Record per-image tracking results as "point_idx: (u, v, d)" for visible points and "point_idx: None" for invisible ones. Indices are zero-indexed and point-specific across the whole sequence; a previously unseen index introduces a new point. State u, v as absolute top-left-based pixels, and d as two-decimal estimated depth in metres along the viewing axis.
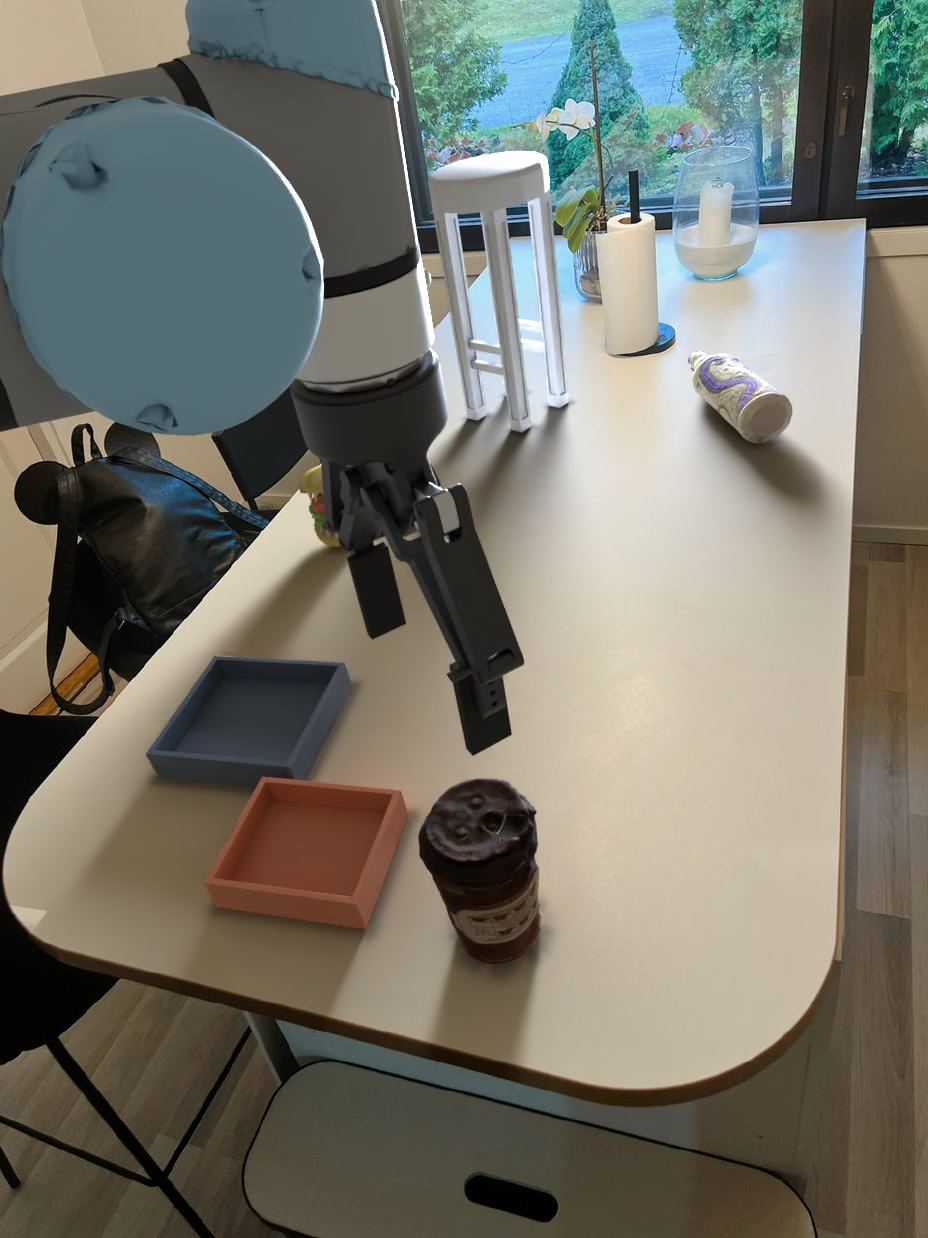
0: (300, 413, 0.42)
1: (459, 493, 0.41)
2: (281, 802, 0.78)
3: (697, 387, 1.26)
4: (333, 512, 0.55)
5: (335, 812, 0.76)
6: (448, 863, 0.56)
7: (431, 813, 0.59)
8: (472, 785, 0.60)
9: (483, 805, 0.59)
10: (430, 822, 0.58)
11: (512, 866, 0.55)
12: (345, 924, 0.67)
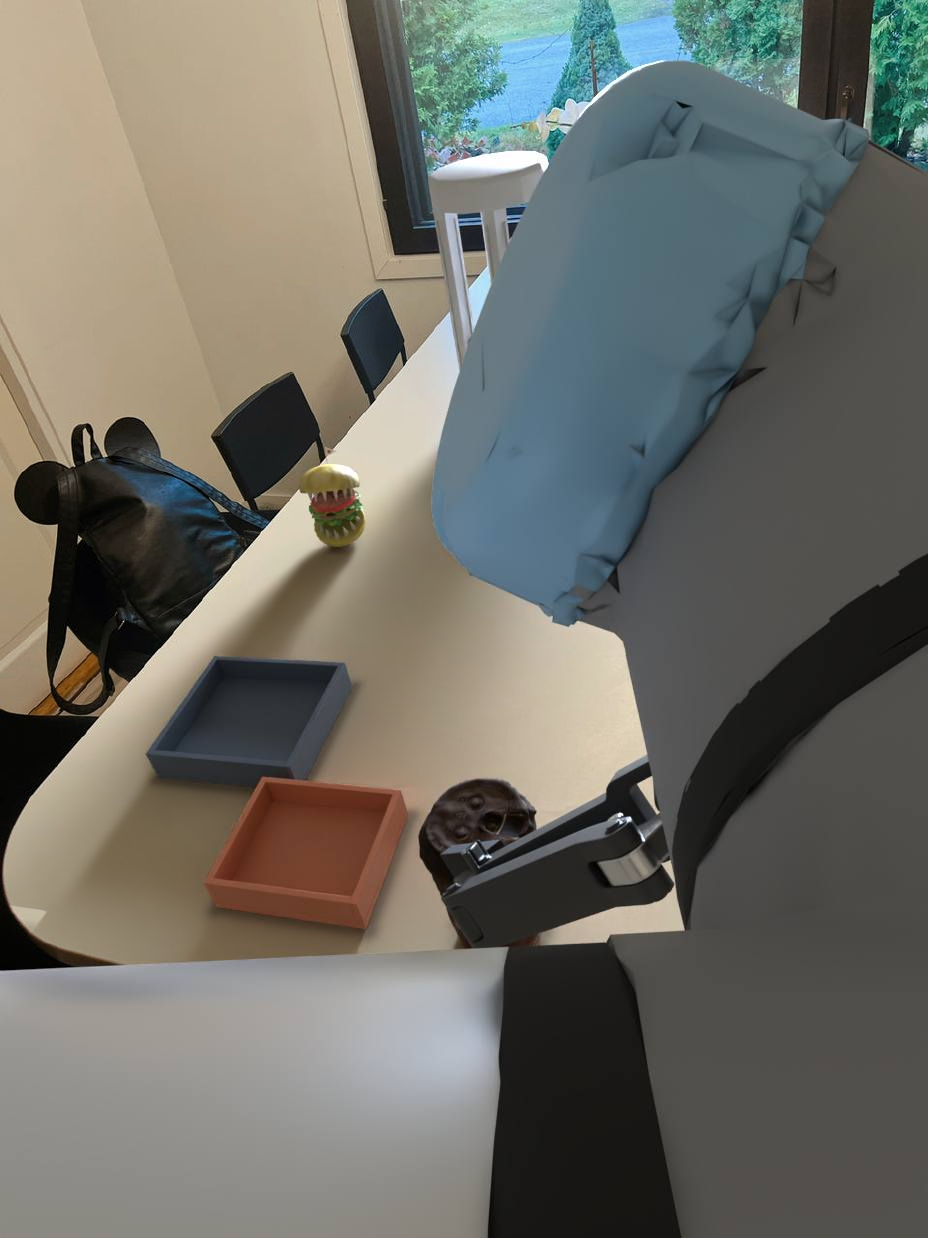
0: None
1: (648, 891, 0.27)
2: (281, 802, 0.78)
3: None
4: None
5: (335, 812, 0.76)
6: None
7: (431, 813, 0.59)
8: (472, 785, 0.60)
9: (483, 805, 0.59)
10: (430, 822, 0.58)
11: None
12: (345, 924, 0.67)
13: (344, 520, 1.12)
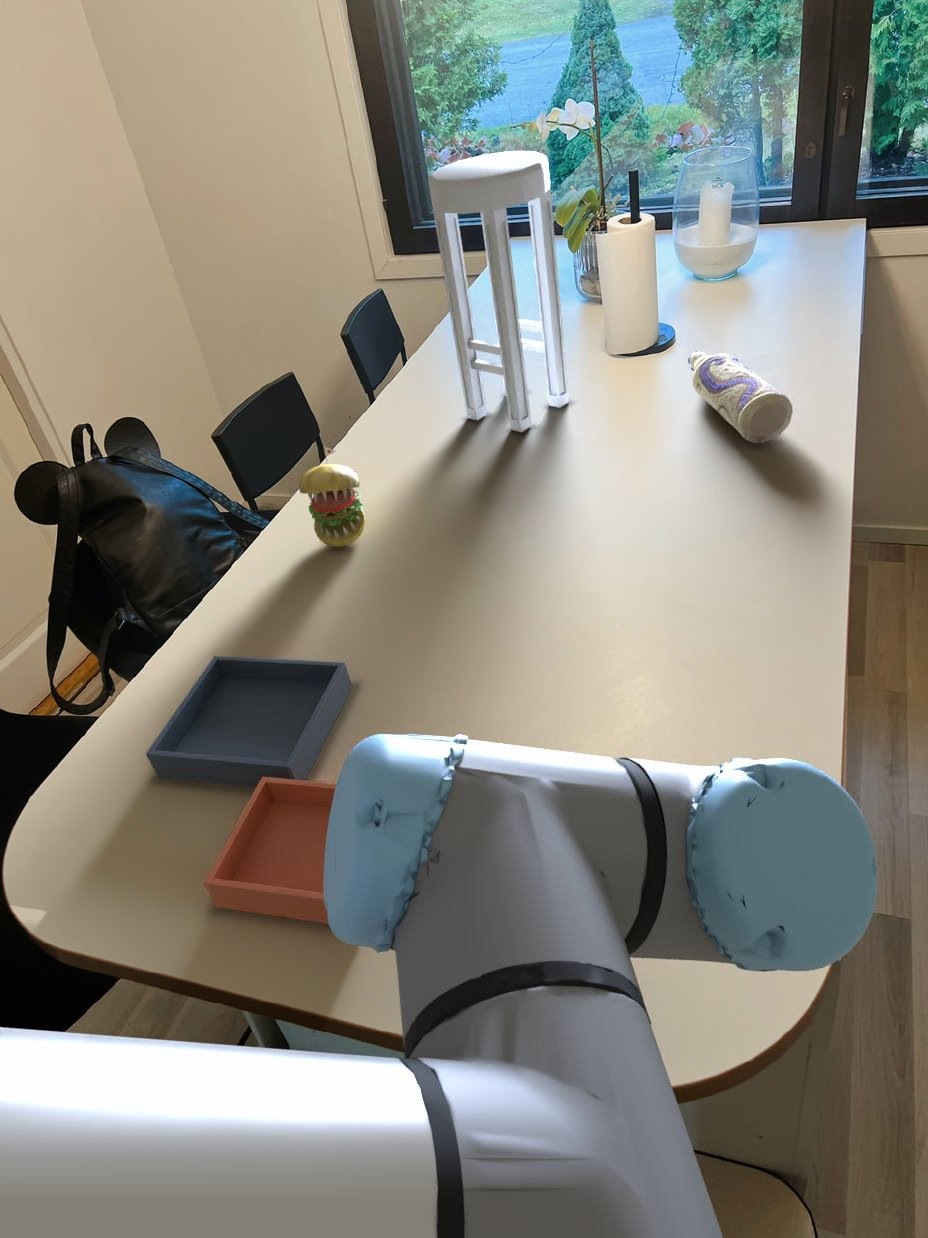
0: None
1: None
2: (281, 802, 0.78)
3: (697, 387, 1.26)
4: None
5: None
6: None
7: None
8: None
9: None
10: None
11: None
12: None
13: (344, 520, 1.12)
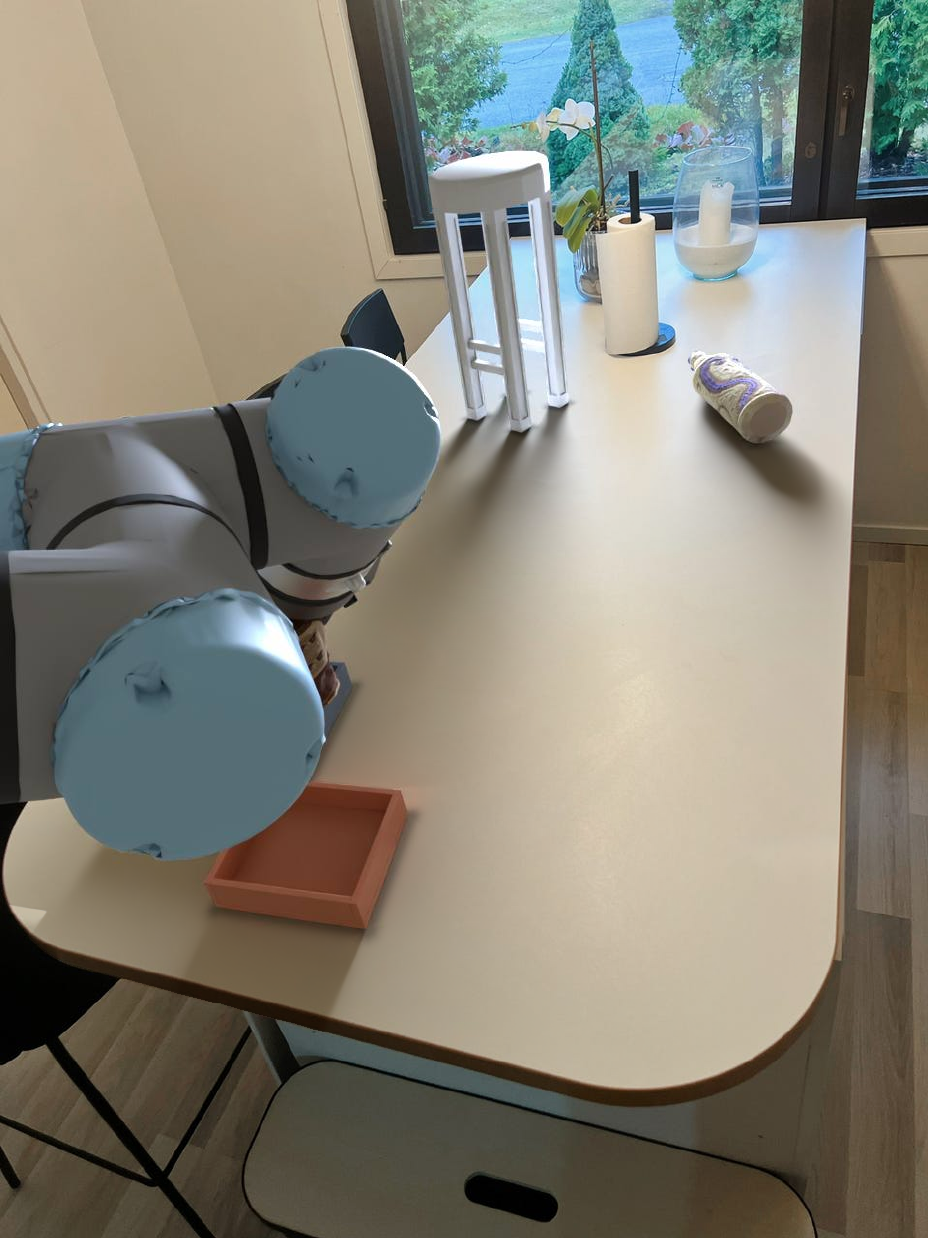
0: None
1: None
2: None
3: (697, 387, 1.26)
4: None
5: (335, 812, 0.76)
6: None
7: None
8: None
9: None
10: None
11: None
12: (345, 924, 0.67)
13: None
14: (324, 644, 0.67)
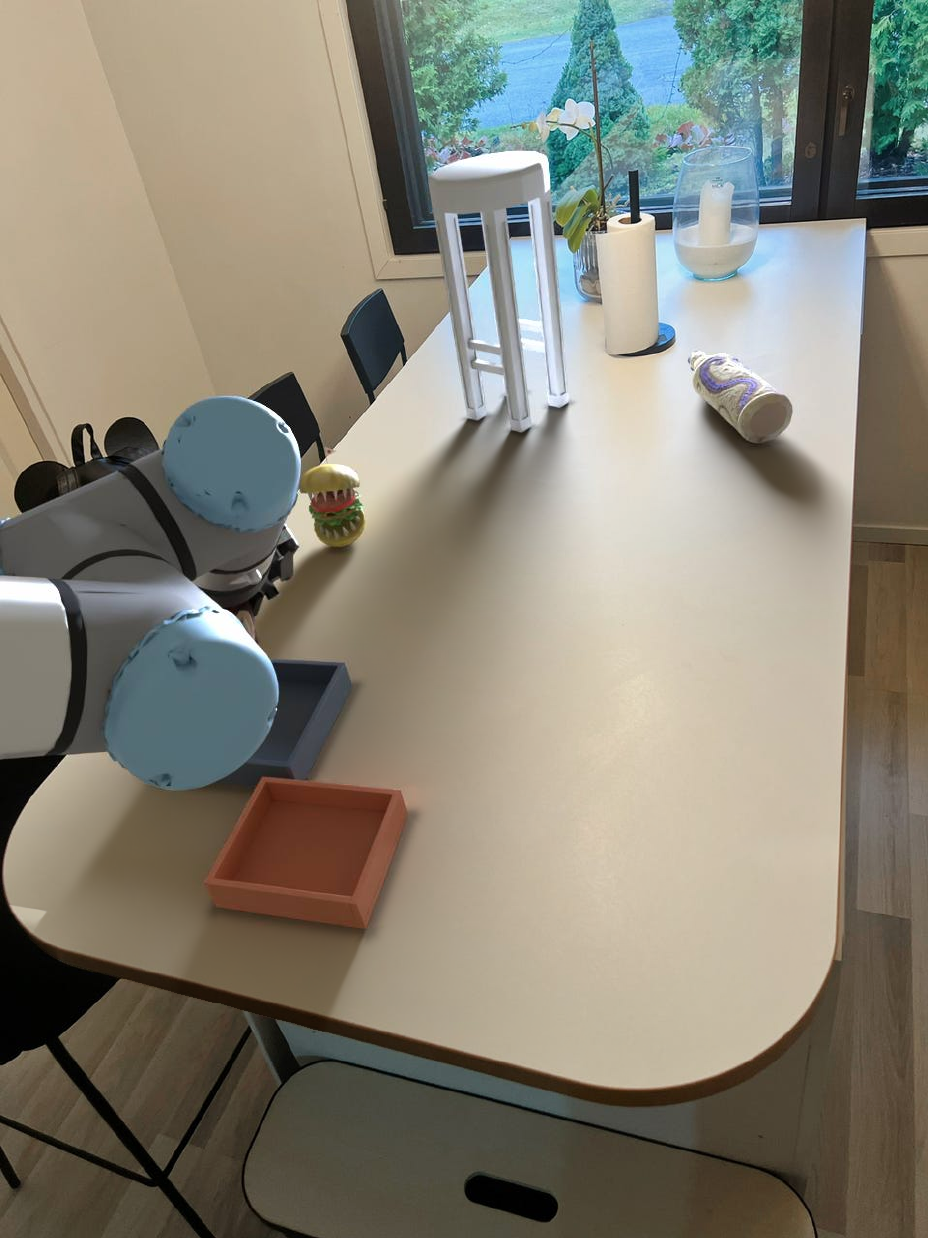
0: None
1: None
2: (281, 802, 0.78)
3: (697, 387, 1.26)
4: None
5: (335, 812, 0.76)
6: None
7: None
8: None
9: None
10: None
11: None
12: (345, 924, 0.67)
13: (344, 520, 1.12)
14: (251, 631, 0.79)
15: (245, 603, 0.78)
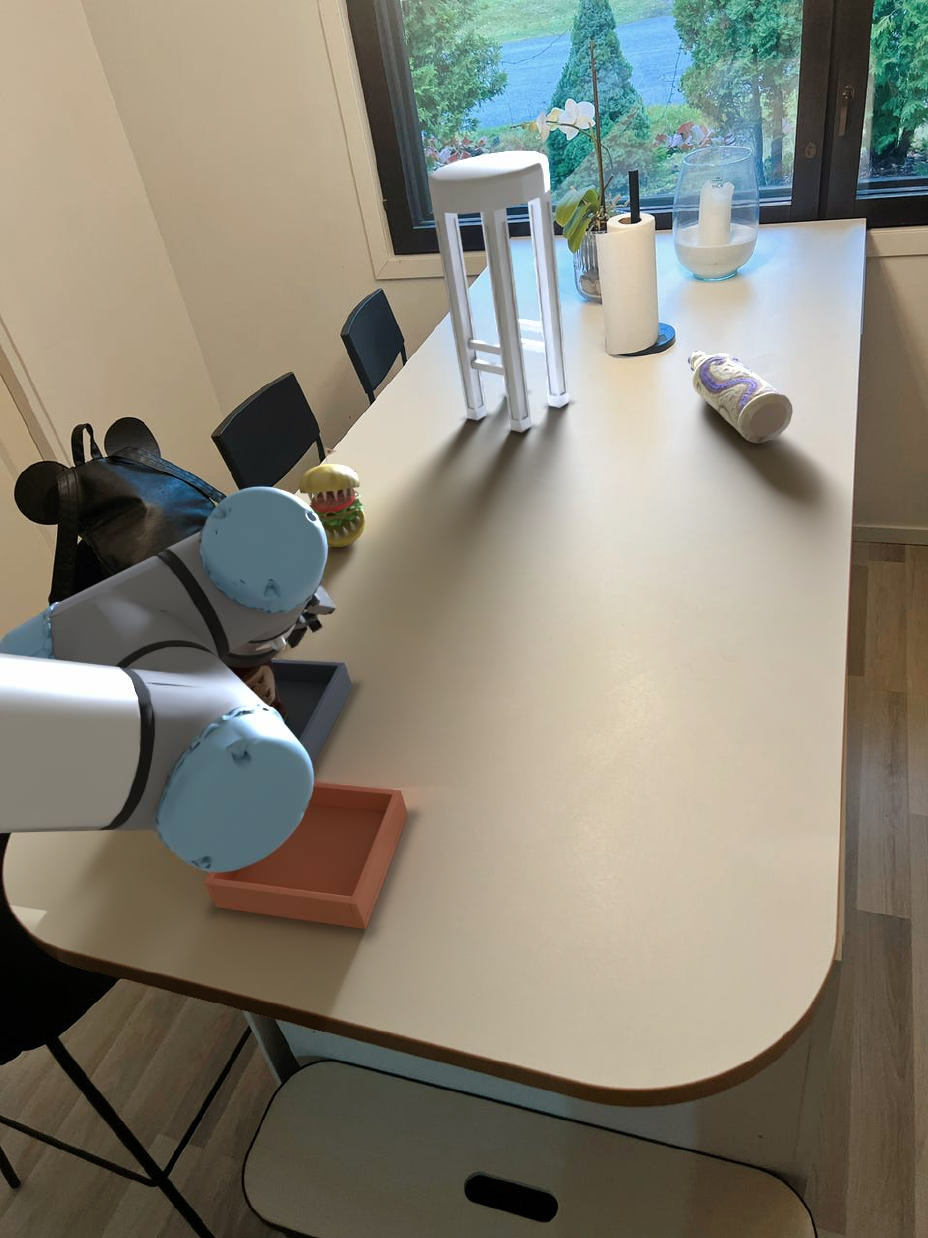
0: None
1: None
2: None
3: (697, 387, 1.26)
4: None
5: (335, 812, 0.76)
6: None
7: None
8: None
9: None
10: None
11: None
12: (345, 924, 0.67)
13: (344, 520, 1.12)
14: (272, 683, 0.83)
15: None
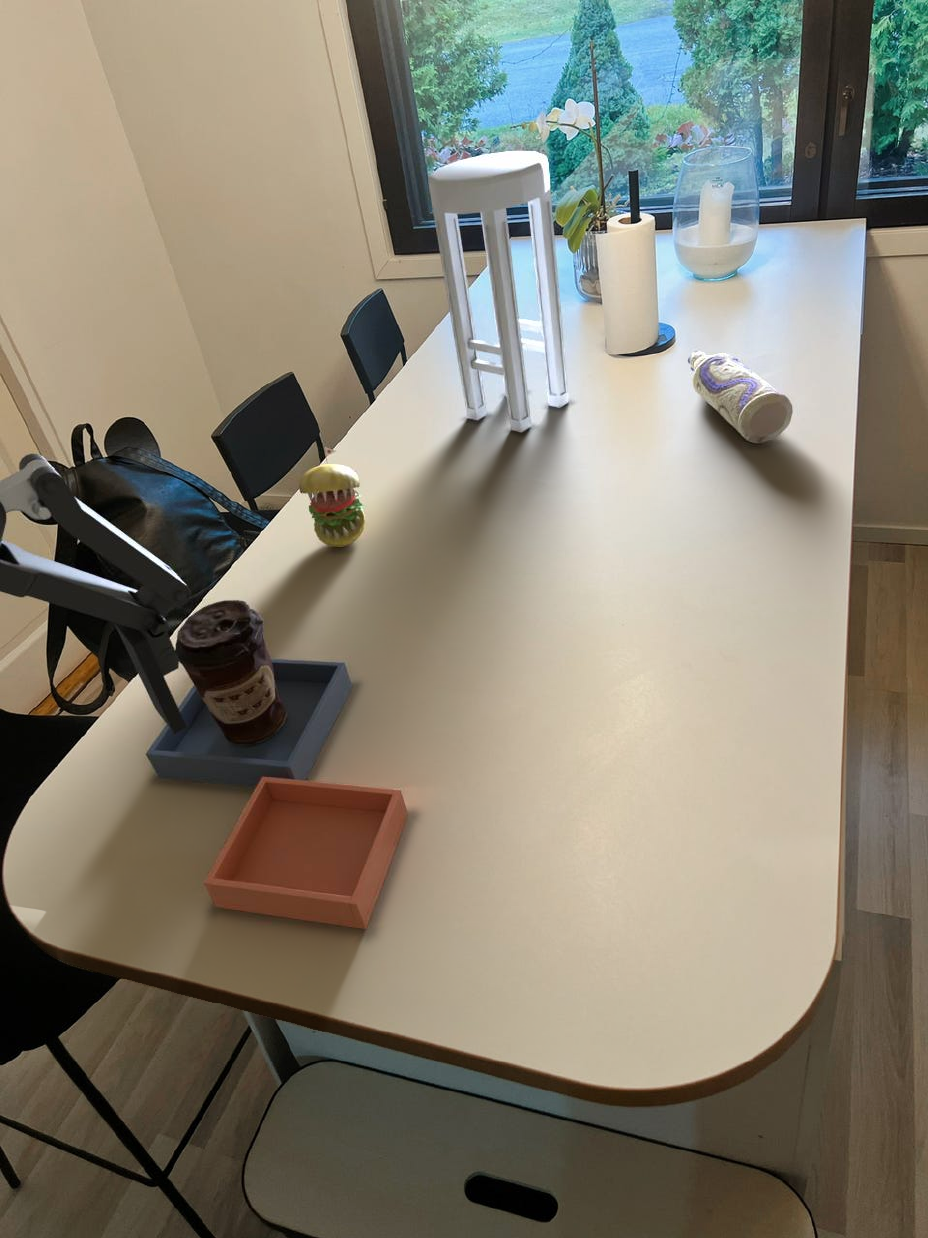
0: None
1: None
2: (281, 802, 0.78)
3: (697, 387, 1.26)
4: None
5: (335, 812, 0.76)
6: (188, 651, 0.77)
7: (185, 622, 0.80)
8: (219, 604, 0.81)
9: (223, 616, 0.80)
10: (182, 627, 0.79)
11: (233, 652, 0.77)
12: (345, 924, 0.67)
13: (344, 520, 1.12)
14: (272, 683, 0.83)
15: (266, 658, 0.82)
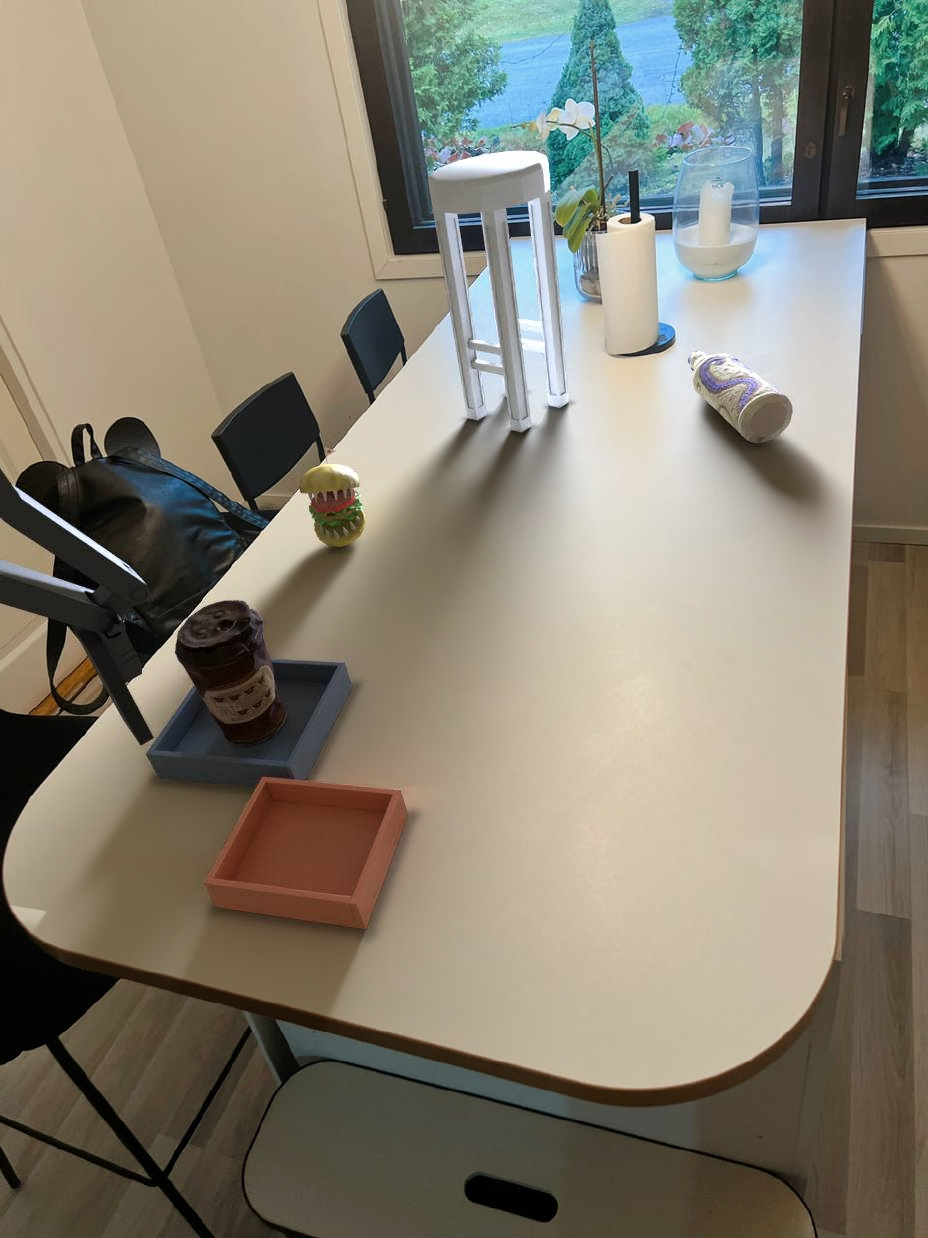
0: None
1: None
2: (281, 802, 0.78)
3: (697, 387, 1.26)
4: None
5: (335, 812, 0.76)
6: (188, 651, 0.77)
7: (185, 622, 0.80)
8: (219, 604, 0.81)
9: (223, 616, 0.80)
10: (182, 627, 0.79)
11: (233, 652, 0.77)
12: (345, 924, 0.67)
13: (344, 520, 1.12)
14: (272, 683, 0.83)
15: (266, 658, 0.82)
